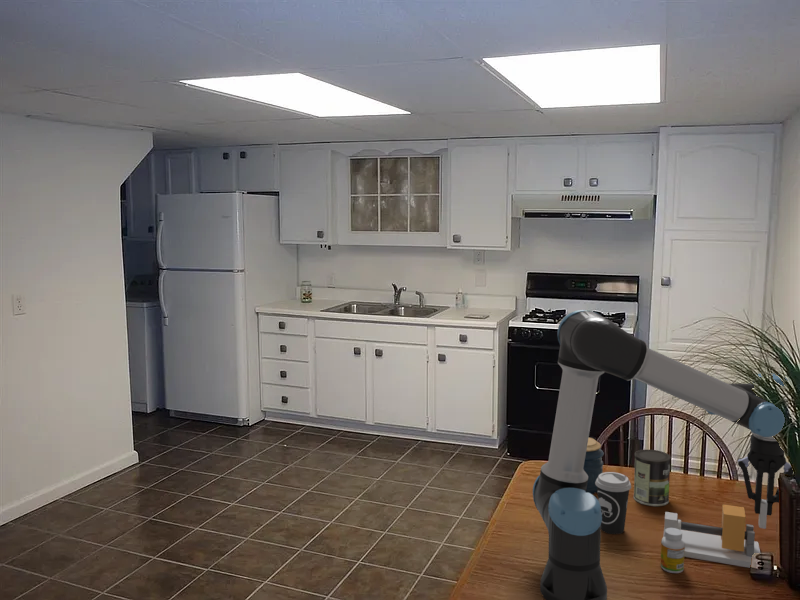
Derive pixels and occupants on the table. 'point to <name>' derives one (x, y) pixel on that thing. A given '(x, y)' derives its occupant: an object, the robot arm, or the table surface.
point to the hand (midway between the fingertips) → (762, 525)
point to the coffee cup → (613, 501)
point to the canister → (593, 464)
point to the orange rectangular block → (733, 527)
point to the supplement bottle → (672, 551)
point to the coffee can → (652, 477)
